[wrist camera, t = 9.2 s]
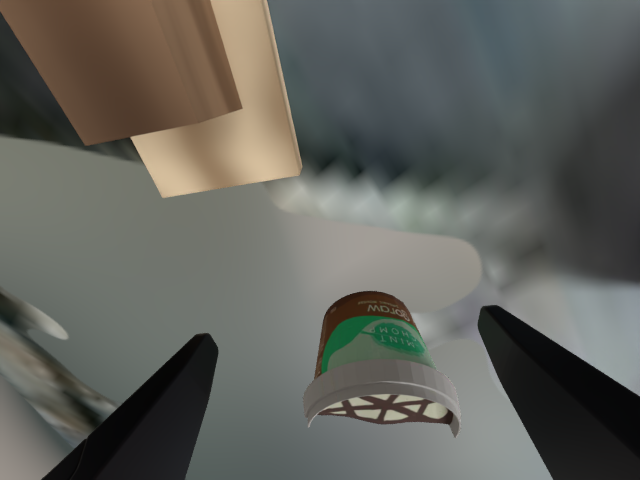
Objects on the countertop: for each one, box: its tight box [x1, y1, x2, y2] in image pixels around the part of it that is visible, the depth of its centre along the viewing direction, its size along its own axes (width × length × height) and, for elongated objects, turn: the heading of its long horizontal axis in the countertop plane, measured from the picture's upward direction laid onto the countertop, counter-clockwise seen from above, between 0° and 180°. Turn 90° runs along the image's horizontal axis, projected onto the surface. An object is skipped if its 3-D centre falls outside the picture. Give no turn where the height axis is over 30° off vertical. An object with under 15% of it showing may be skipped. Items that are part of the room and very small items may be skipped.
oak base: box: [130, 0, 302, 198], centre depth 15 cm, size 10×14×2 cm
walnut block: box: [0, 0, 243, 146], centre depth 11 cm, size 5×5×6 cm
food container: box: [303, 291, 461, 438], centre depth 22 cm, size 12×6×10 cm, turn 85°
